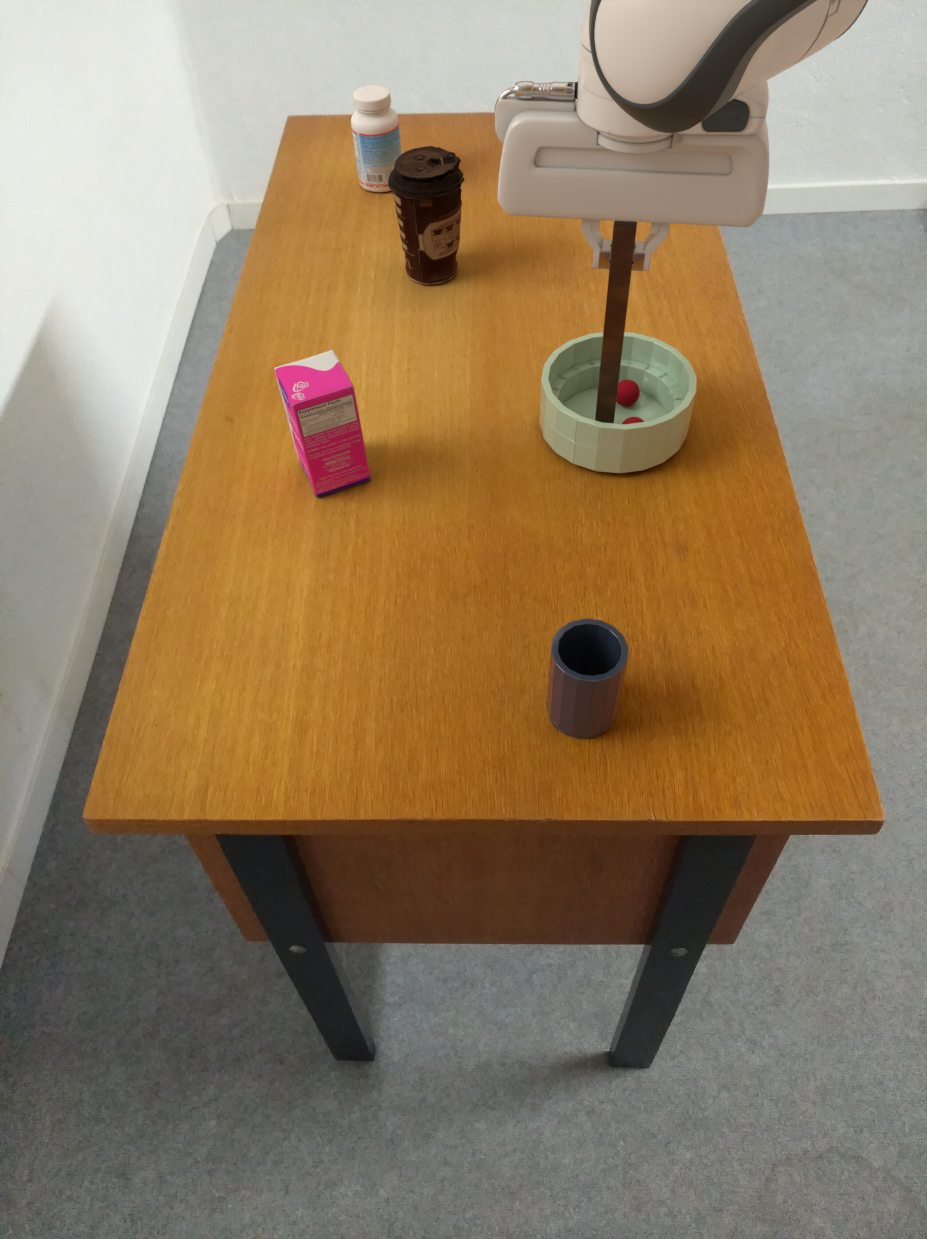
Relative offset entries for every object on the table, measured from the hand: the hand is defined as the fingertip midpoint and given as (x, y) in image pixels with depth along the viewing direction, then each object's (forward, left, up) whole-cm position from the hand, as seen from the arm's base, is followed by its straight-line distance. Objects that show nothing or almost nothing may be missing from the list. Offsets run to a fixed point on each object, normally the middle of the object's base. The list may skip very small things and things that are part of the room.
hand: (621, 266), depth 74 cm
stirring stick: (0, 0, -16) cm, 16 cm away
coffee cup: (+22, -26, -18) cm, 39 cm away
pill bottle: (+33, -46, -18) cm, 60 cm away
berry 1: (-2, -4, -16) cm, 17 cm away
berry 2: (-3, +1, -16) cm, 17 cm away
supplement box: (+25, +9, -18) cm, 32 cm away
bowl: (-1, -1, -18) cm, 18 cm away
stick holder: (-1, +32, -18) cm, 36 cm away
